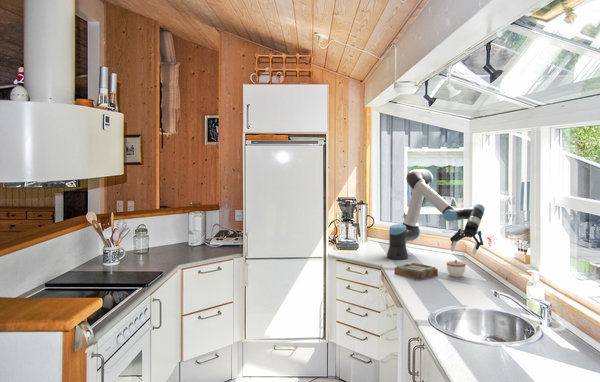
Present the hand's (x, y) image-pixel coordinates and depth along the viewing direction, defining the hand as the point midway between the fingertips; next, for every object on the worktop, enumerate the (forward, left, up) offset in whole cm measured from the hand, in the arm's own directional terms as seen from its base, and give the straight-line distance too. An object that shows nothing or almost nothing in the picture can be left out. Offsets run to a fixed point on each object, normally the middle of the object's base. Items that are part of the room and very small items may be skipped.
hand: (462, 251), depth 263 cm
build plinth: (+26, -15, -13) cm, 32 cm away
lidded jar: (+9, +1, -13) cm, 16 cm away
